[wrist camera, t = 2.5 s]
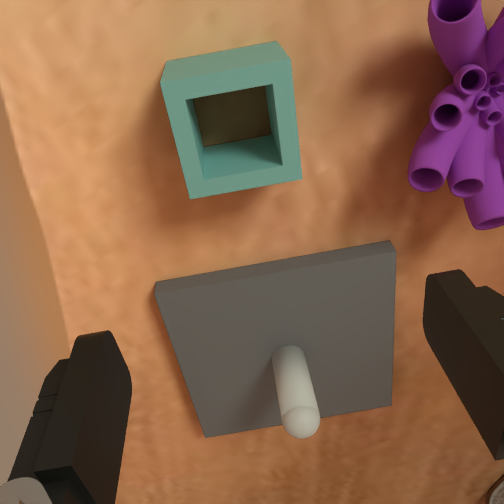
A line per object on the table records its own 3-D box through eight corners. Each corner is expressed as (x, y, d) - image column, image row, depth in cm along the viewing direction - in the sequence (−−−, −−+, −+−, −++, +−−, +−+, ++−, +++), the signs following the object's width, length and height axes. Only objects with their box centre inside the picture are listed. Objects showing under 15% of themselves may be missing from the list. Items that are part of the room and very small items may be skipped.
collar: (276, 41, 26) (290, 58, 22) (288, 146, 30) (302, 179, 26) (166, 61, 26) (159, 82, 22) (191, 164, 30) (190, 199, 26)
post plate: (389, 240, 35) (440, 320, 27) (386, 392, 45) (422, 481, 37) (155, 281, 35) (143, 372, 27) (205, 424, 45) (205, 518, 37)
